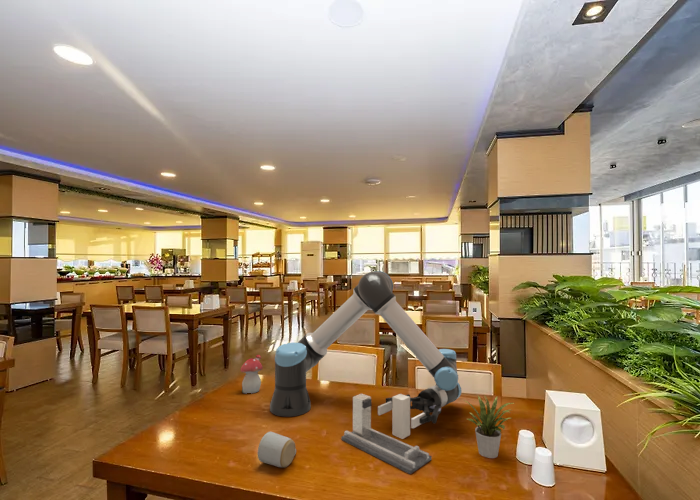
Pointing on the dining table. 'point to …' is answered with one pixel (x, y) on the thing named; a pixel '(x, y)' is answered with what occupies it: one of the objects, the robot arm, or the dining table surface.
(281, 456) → the grey cylinder on side
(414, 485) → the dining table surface
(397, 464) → the rail
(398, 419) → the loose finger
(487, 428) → the house plant
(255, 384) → the decorative ornament
